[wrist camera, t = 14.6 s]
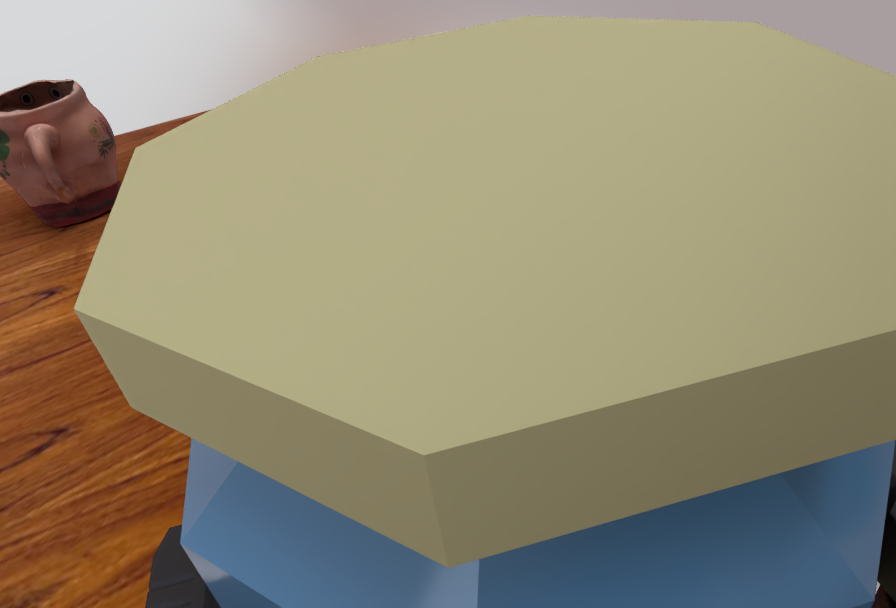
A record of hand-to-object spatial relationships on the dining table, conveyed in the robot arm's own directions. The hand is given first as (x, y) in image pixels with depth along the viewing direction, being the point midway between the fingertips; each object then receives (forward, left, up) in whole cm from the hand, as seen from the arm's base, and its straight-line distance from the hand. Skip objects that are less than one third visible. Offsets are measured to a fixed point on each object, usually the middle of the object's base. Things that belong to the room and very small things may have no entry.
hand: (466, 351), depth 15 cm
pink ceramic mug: (+32, -65, -23) cm, 76 cm away
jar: (0, +5, -8) cm, 9 cm away
